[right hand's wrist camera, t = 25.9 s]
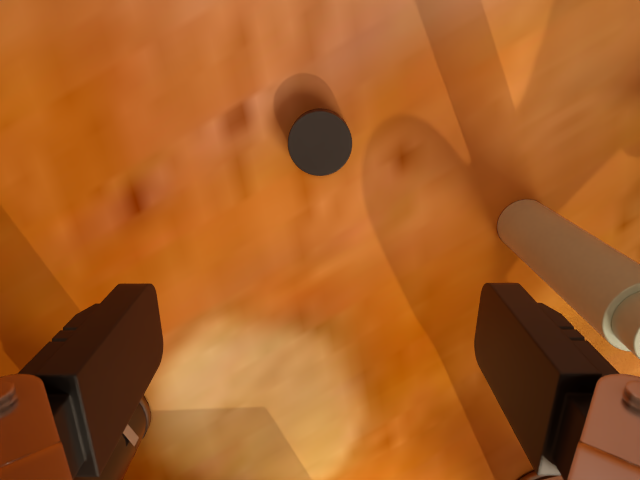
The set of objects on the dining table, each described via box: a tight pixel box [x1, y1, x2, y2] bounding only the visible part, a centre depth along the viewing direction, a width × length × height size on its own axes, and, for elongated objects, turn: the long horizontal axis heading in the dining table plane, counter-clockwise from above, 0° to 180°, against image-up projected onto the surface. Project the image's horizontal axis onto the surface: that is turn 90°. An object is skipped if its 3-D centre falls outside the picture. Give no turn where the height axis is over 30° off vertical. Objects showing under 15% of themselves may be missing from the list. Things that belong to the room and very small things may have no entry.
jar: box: [497, 199, 640, 359], centre depth 32 cm, size 5×5×18 cm
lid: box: [288, 109, 352, 176], centre depth 37 cm, size 5×5×2 cm
